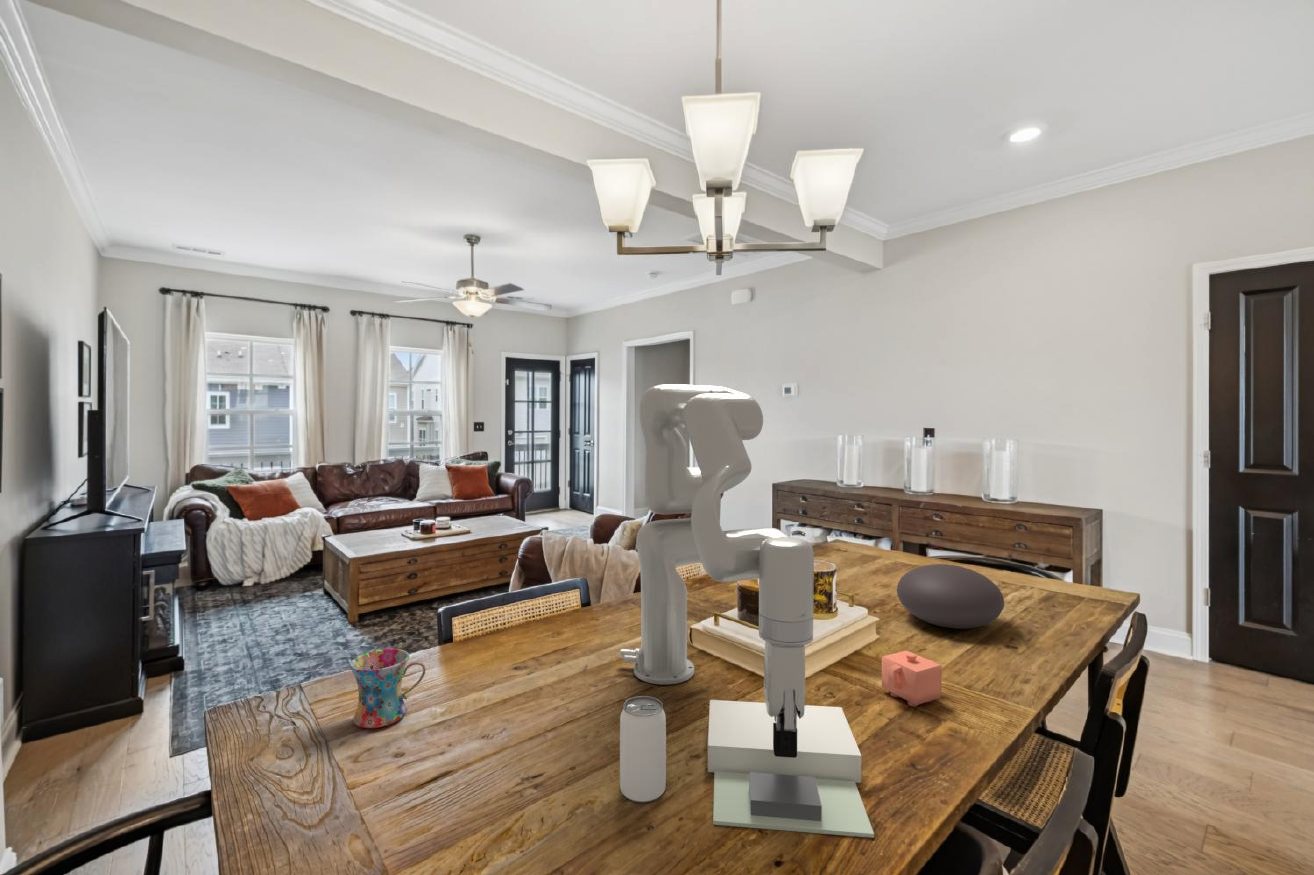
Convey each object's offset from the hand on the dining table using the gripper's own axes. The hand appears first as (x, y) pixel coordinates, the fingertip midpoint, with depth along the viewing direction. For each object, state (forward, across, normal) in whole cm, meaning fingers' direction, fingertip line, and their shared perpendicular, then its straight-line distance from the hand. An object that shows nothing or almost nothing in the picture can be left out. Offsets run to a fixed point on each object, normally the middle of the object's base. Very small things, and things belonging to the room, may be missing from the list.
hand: (784, 753), depth 81 cm
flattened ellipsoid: (+5, -72, +49) cm, 87 cm away
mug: (+5, -11, -67) cm, 68 cm away
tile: (+2, +4, -1) cm, 5 cm away
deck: (+5, -9, 0) cm, 10 cm away
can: (+5, +3, -20) cm, 21 cm away
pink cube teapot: (+5, -30, +27) cm, 41 cm away
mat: (+5, +4, 0) cm, 6 cm away
